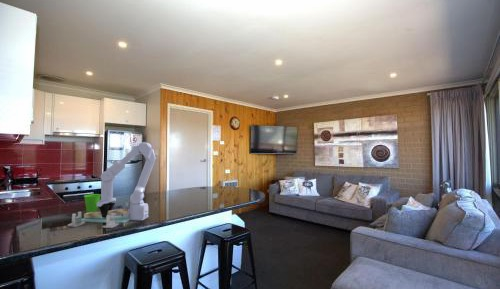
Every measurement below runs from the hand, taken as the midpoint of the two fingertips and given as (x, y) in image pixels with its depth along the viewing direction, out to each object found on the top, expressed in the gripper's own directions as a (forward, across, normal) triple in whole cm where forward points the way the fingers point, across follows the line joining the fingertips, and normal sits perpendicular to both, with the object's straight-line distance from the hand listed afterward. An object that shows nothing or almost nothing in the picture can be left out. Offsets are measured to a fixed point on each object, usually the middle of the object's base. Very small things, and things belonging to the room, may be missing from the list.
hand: (106, 216), depth 138 cm
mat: (+2, 0, 0) cm, 2 cm away
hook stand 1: (+2, +10, -9) cm, 14 cm away
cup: (+2, -12, -17) cm, 21 cm away
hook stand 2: (+2, +10, +9) cm, 14 cm away
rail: (-1, 0, 0) cm, 1 cm away
